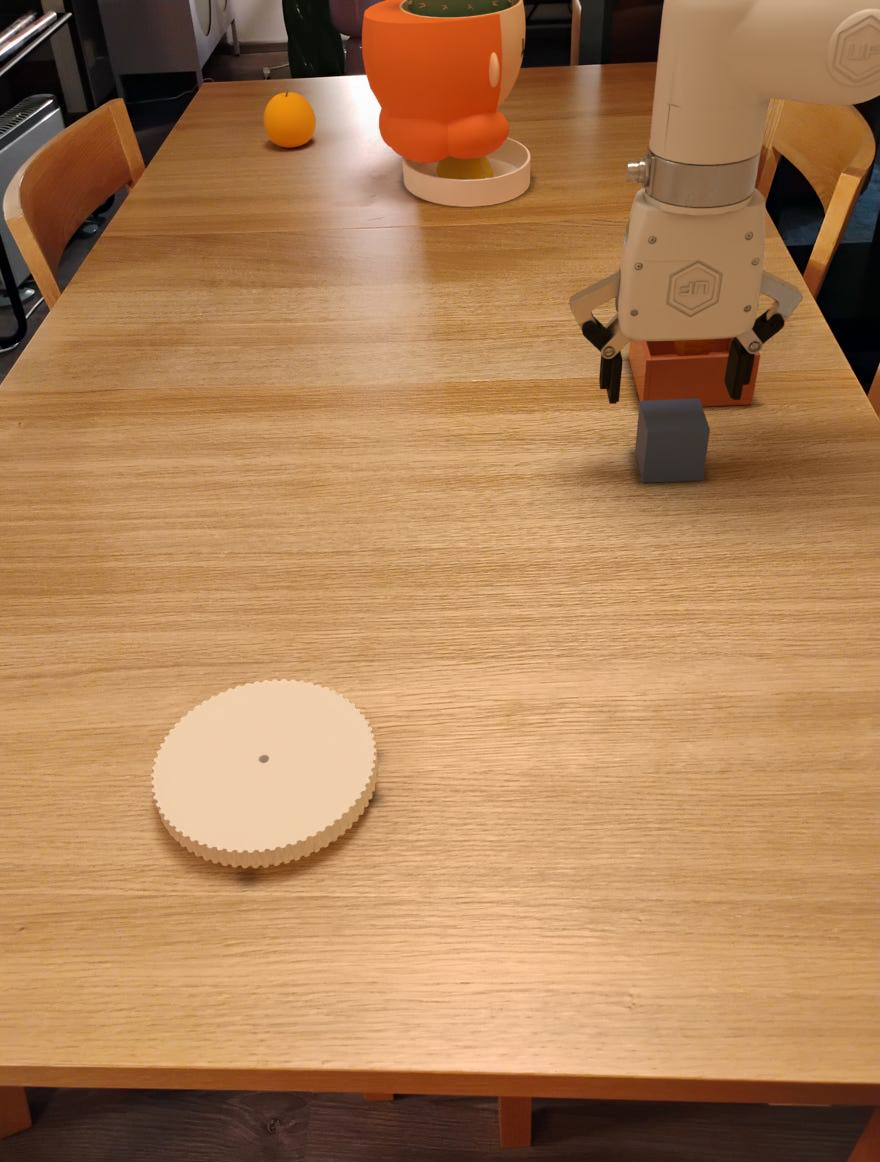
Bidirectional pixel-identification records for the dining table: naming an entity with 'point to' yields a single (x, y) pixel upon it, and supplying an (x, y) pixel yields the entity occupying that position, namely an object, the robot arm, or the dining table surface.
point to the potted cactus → (449, 95)
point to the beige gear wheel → (265, 773)
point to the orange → (289, 120)
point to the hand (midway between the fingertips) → (671, 393)
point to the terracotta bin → (685, 373)
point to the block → (671, 440)
